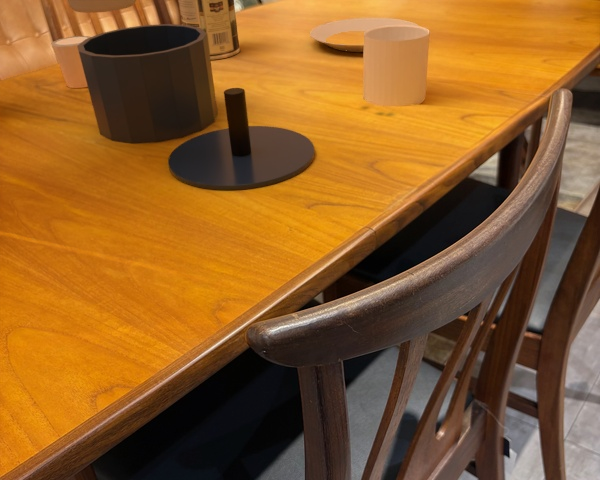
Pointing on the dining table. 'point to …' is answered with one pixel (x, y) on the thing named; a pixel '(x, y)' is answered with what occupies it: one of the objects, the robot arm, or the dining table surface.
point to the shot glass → (70, 60)
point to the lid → (241, 153)
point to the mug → (395, 65)
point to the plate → (347, 25)
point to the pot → (150, 82)
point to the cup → (99, 5)
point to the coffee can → (213, 24)
